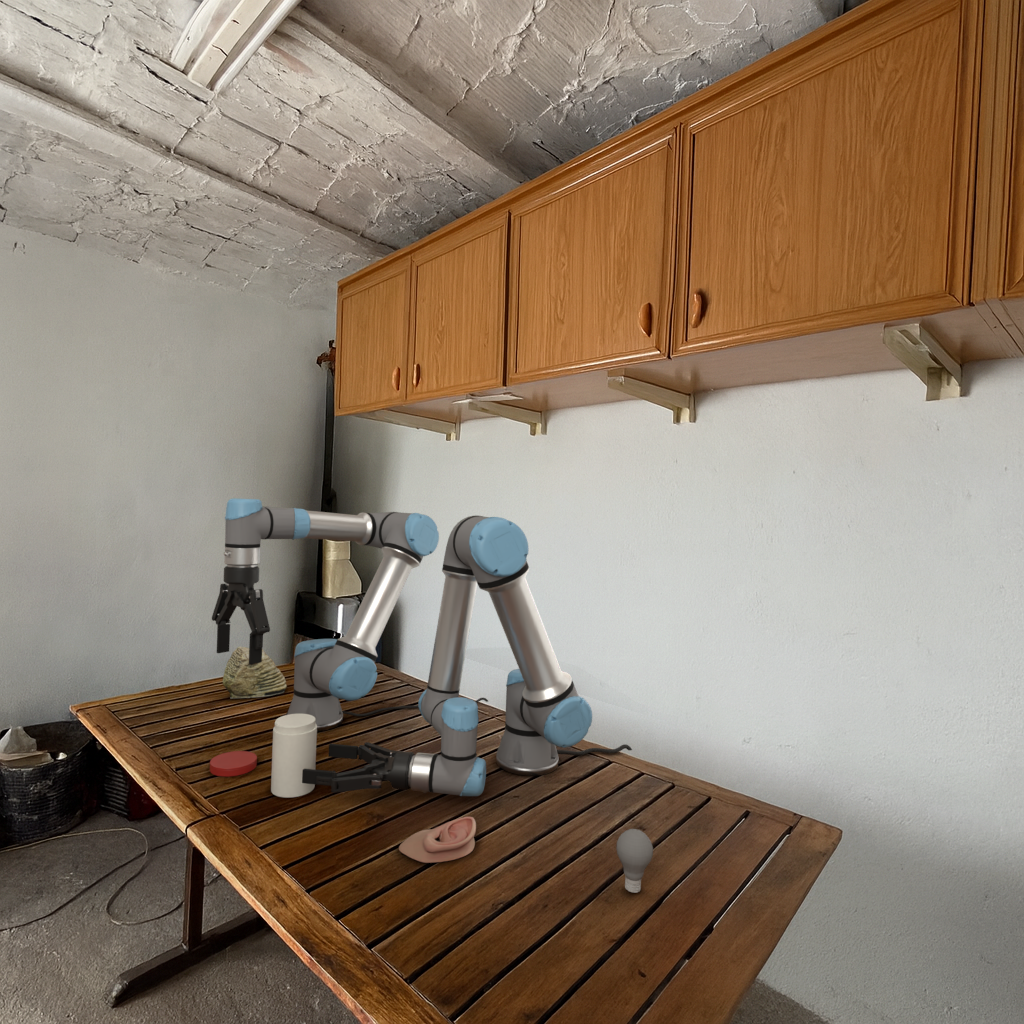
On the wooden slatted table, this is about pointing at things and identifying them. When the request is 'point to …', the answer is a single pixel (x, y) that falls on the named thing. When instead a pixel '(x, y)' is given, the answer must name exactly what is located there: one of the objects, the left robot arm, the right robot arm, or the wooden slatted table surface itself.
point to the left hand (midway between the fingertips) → (238, 657)
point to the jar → (293, 754)
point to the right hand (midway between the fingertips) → (316, 762)
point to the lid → (233, 763)
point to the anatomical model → (441, 842)
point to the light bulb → (634, 857)
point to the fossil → (252, 676)
